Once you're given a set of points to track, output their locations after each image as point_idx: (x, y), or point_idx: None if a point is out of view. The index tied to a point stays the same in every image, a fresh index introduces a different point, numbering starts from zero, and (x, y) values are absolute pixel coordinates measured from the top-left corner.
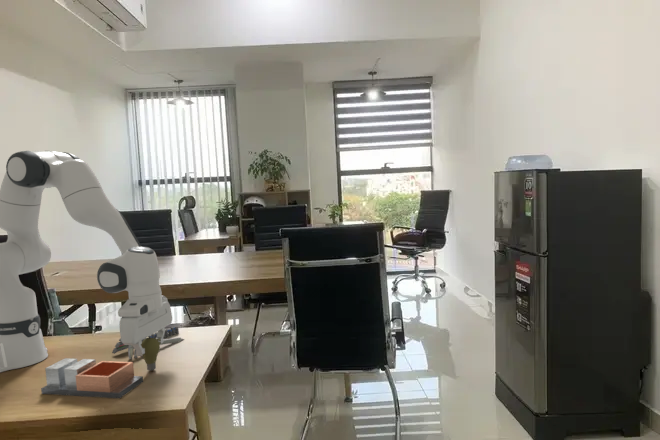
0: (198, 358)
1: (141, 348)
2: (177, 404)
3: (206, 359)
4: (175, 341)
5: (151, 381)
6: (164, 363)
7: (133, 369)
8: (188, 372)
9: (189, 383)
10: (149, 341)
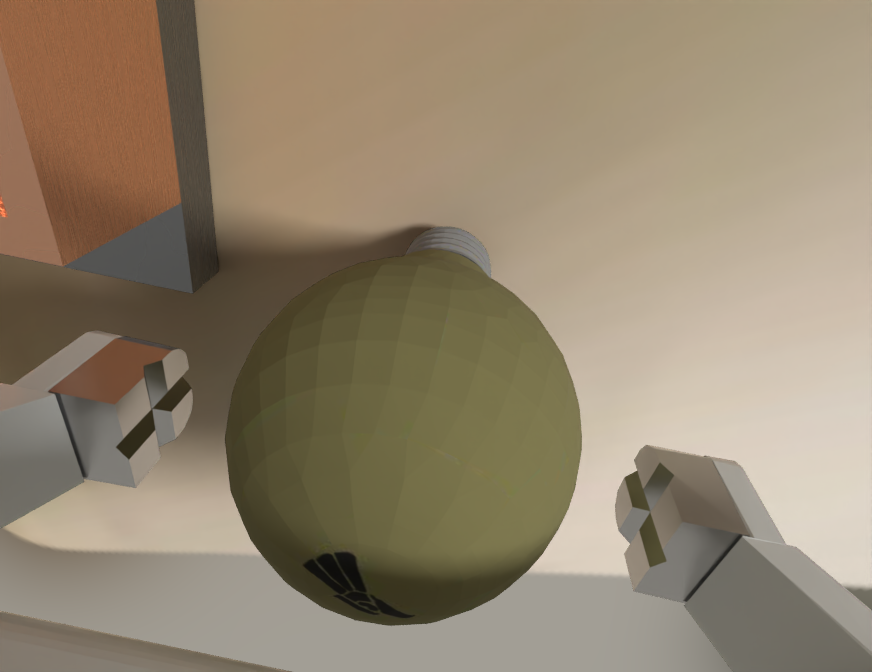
0: None
1: (28, 493)
2: (32, 527)
3: (621, 566)
4: None
5: (236, 333)
6: (633, 314)
7: (132, 226)
8: None
9: None
10: (281, 576)
